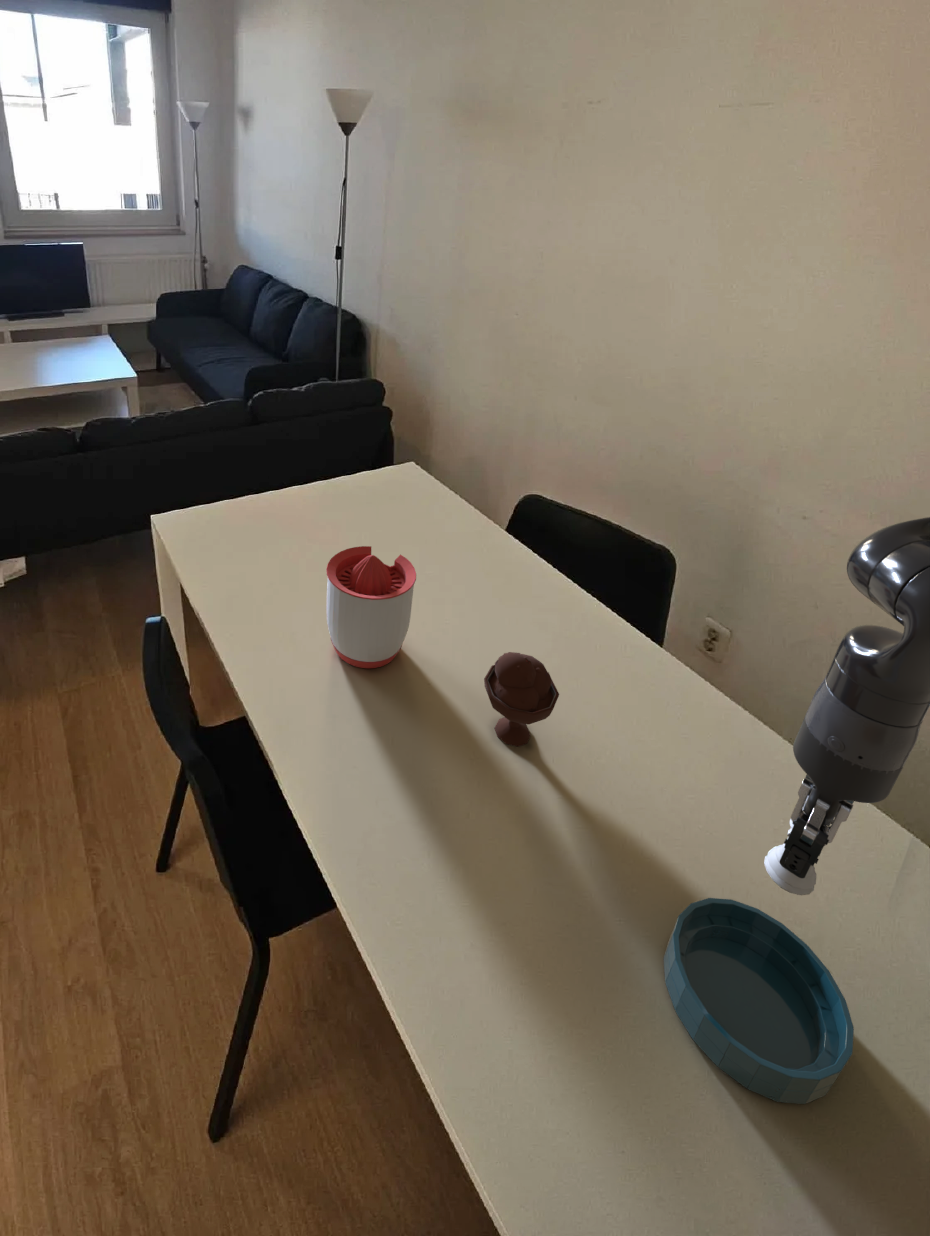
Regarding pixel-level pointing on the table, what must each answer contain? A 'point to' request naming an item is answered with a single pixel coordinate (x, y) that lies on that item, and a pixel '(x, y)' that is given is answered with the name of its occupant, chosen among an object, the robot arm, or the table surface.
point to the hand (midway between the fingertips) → (797, 856)
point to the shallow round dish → (757, 1000)
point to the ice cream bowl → (519, 695)
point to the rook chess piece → (788, 872)
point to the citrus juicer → (368, 606)
